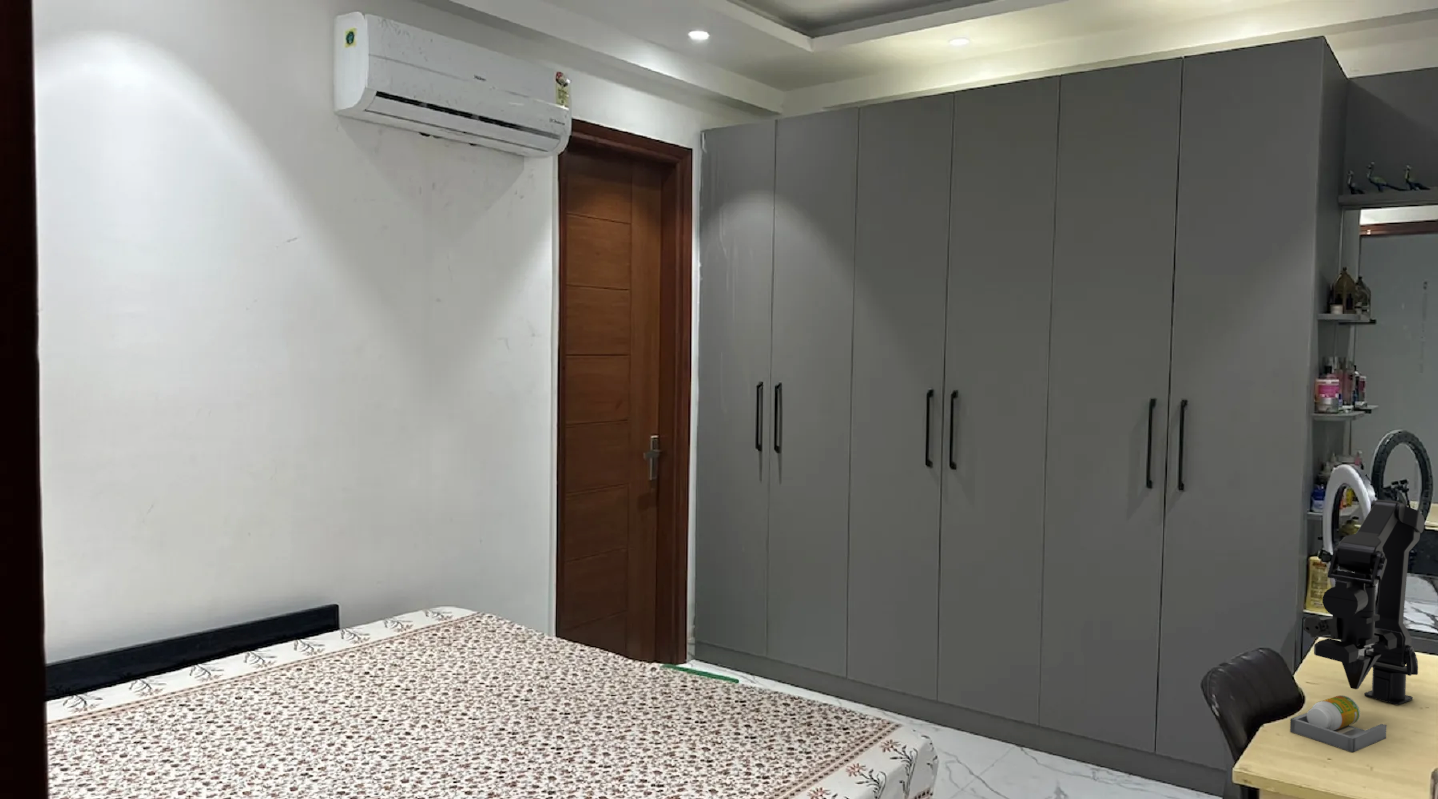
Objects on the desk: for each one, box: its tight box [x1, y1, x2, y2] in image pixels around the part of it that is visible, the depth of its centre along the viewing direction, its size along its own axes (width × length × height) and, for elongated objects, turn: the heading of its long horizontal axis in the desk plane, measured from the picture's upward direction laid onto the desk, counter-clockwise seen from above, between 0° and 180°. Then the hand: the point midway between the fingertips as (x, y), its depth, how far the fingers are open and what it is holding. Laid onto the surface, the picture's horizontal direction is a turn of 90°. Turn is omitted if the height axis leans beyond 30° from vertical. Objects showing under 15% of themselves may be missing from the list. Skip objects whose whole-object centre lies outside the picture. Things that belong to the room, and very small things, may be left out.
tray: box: [1289, 712, 1387, 753], centre depth 182 cm, size 12×11×2 cm
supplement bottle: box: [1306, 695, 1361, 731], centre depth 185 cm, size 5×5×10 cm
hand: (1354, 688), depth 186 cm, fingers closed
